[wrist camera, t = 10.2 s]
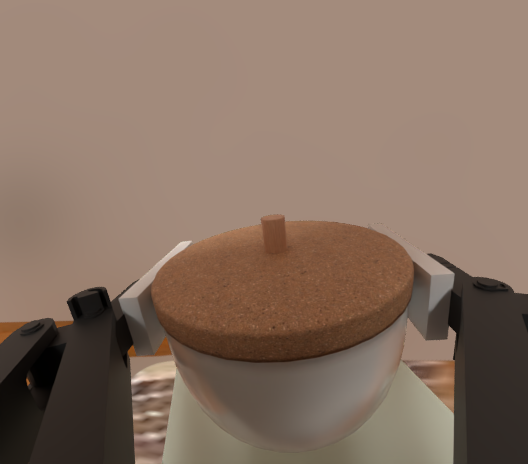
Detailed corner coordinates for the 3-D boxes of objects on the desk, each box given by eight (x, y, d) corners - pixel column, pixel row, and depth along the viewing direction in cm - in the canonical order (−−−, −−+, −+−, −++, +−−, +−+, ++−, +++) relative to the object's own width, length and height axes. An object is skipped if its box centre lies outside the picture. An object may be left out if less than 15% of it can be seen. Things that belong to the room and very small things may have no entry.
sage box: (339, 341, 28) (337, 294, 27) (487, 543, 13) (504, 466, 12) (195, 379, 26) (182, 330, 24) (176, 684, 11) (138, 611, 9)
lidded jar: (167, 565, 8) (65, 309, 5) (201, 338, 18) (171, 211, 16) (473, 480, 9) (518, 231, 6) (342, 310, 19) (338, 187, 17)
